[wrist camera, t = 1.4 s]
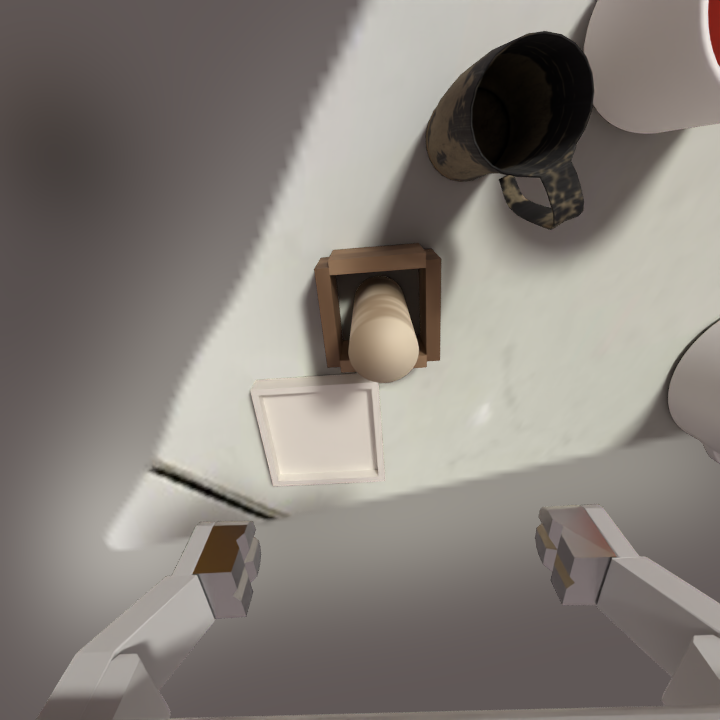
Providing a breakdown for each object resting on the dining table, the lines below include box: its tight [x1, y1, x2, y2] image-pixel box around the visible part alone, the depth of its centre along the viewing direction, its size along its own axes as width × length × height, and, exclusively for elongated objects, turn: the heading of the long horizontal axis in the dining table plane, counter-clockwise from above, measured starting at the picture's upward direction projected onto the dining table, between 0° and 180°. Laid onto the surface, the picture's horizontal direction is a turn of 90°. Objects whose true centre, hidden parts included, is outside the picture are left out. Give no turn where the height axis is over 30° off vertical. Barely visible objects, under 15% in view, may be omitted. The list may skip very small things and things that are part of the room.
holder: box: [314, 243, 441, 373], centre depth 28 cm, size 8×8×4 cm
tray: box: [250, 373, 385, 486], centre depth 35 cm, size 11×11×2 cm
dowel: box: [348, 276, 419, 383], centre depth 26 cm, size 4×4×10 cm
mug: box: [426, 31, 594, 230], centre depth 20 cm, size 8×6×12 cm
